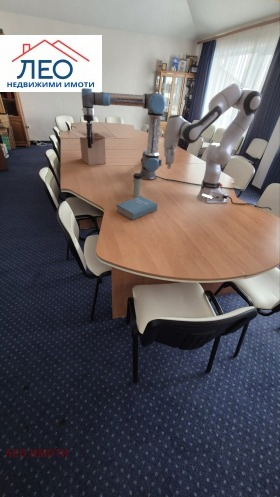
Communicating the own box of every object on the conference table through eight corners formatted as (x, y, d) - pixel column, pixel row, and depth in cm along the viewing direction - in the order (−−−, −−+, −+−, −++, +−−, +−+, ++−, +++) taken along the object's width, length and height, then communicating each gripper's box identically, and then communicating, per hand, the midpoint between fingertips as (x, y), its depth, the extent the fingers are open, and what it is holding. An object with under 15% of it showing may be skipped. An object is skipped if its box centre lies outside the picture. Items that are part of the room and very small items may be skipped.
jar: (133, 197, 167) (134, 176, 158) (132, 194, 171) (133, 173, 162) (140, 197, 168) (141, 176, 159) (139, 194, 172) (140, 173, 163)
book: (140, 202, 160) (141, 196, 157) (157, 210, 151) (157, 203, 148) (116, 211, 147) (116, 204, 144) (132, 220, 138) (133, 213, 135)
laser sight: (160, 166, 235) (161, 156, 229) (139, 164, 238) (140, 154, 232) (161, 164, 243) (162, 154, 237) (141, 161, 246) (142, 152, 240)
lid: (133, 179, 159) (134, 175, 157) (132, 176, 163) (133, 173, 162) (142, 179, 160) (142, 175, 158) (141, 176, 164) (141, 173, 163)
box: (116, 165, 229) (116, 136, 213) (83, 168, 214) (80, 137, 198) (102, 154, 259) (101, 128, 243) (71, 156, 244) (68, 129, 228)
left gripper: (84, 112, 170) (87, 142, 182) (81, 116, 150) (84, 149, 163) (94, 112, 171) (96, 142, 183) (92, 116, 151) (94, 149, 163)
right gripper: (178, 148, 133) (174, 171, 141) (173, 141, 149) (170, 162, 157) (168, 147, 132) (165, 171, 141) (163, 140, 149) (161, 162, 157)
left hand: (90, 146), depth 173 cm, fingers open, 13 cm apart
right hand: (167, 166), depth 149 cm, fingers open, 8 cm apart
